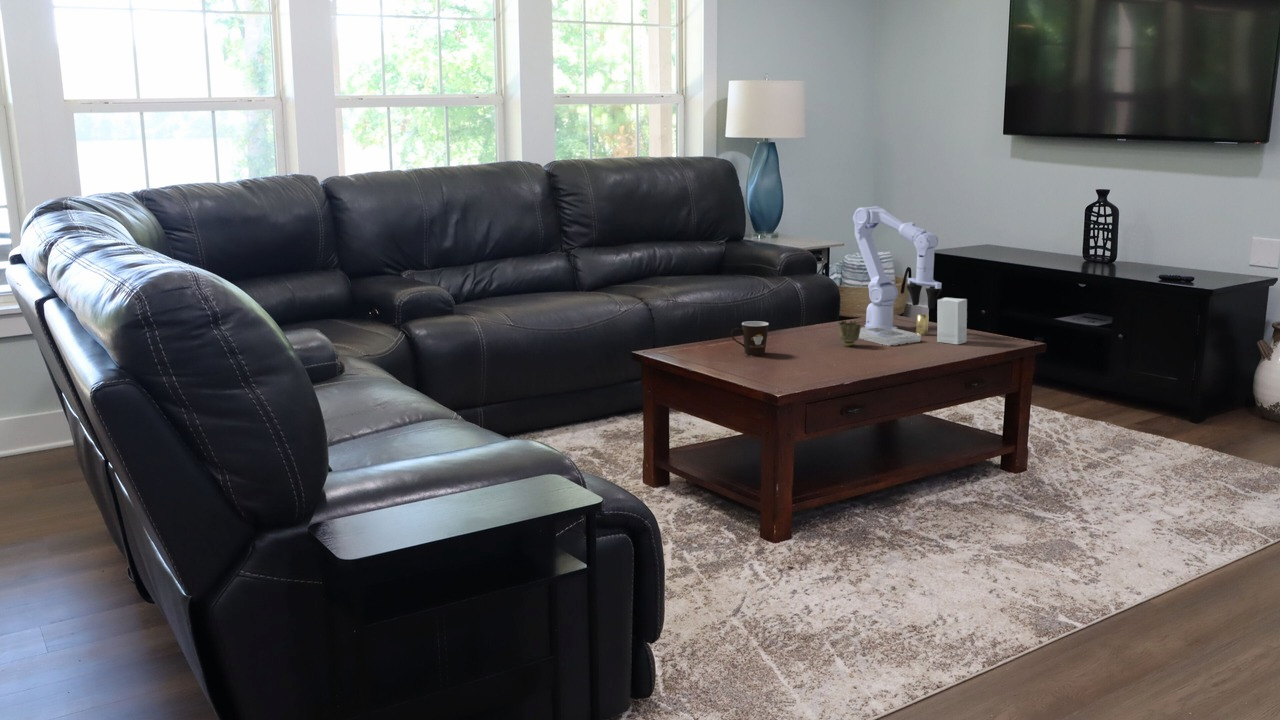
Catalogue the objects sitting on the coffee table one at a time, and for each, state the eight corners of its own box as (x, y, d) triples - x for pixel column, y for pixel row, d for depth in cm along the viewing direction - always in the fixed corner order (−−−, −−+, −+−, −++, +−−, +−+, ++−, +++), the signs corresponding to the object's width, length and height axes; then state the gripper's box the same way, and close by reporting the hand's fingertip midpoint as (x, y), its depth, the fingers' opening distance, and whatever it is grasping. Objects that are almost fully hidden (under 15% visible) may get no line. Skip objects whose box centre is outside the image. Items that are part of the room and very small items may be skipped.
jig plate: (849, 336, 381) (850, 328, 380) (880, 331, 387) (881, 325, 387) (888, 346, 364) (889, 338, 363) (920, 341, 370) (920, 334, 370)
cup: (859, 343, 368) (860, 320, 366) (861, 348, 360) (862, 324, 359) (836, 343, 368) (837, 320, 367) (838, 348, 361) (839, 324, 359)
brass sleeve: (913, 334, 383) (914, 314, 381) (922, 333, 385) (923, 313, 383) (921, 336, 379) (922, 316, 378) (930, 335, 381) (931, 315, 380)
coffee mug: (770, 351, 356) (770, 321, 354) (765, 357, 348) (766, 326, 346) (735, 350, 360) (735, 320, 357) (729, 355, 351) (730, 325, 349)
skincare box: (966, 342, 368) (969, 299, 365) (957, 345, 364) (959, 301, 361) (944, 339, 374) (946, 296, 371) (935, 341, 370) (937, 298, 366)
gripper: (948, 269, 373) (946, 308, 376) (919, 264, 385) (917, 302, 388) (933, 270, 369) (931, 310, 372) (903, 266, 382) (902, 304, 385)
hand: (923, 306), depth 380 cm, fingers open, 7 cm apart
